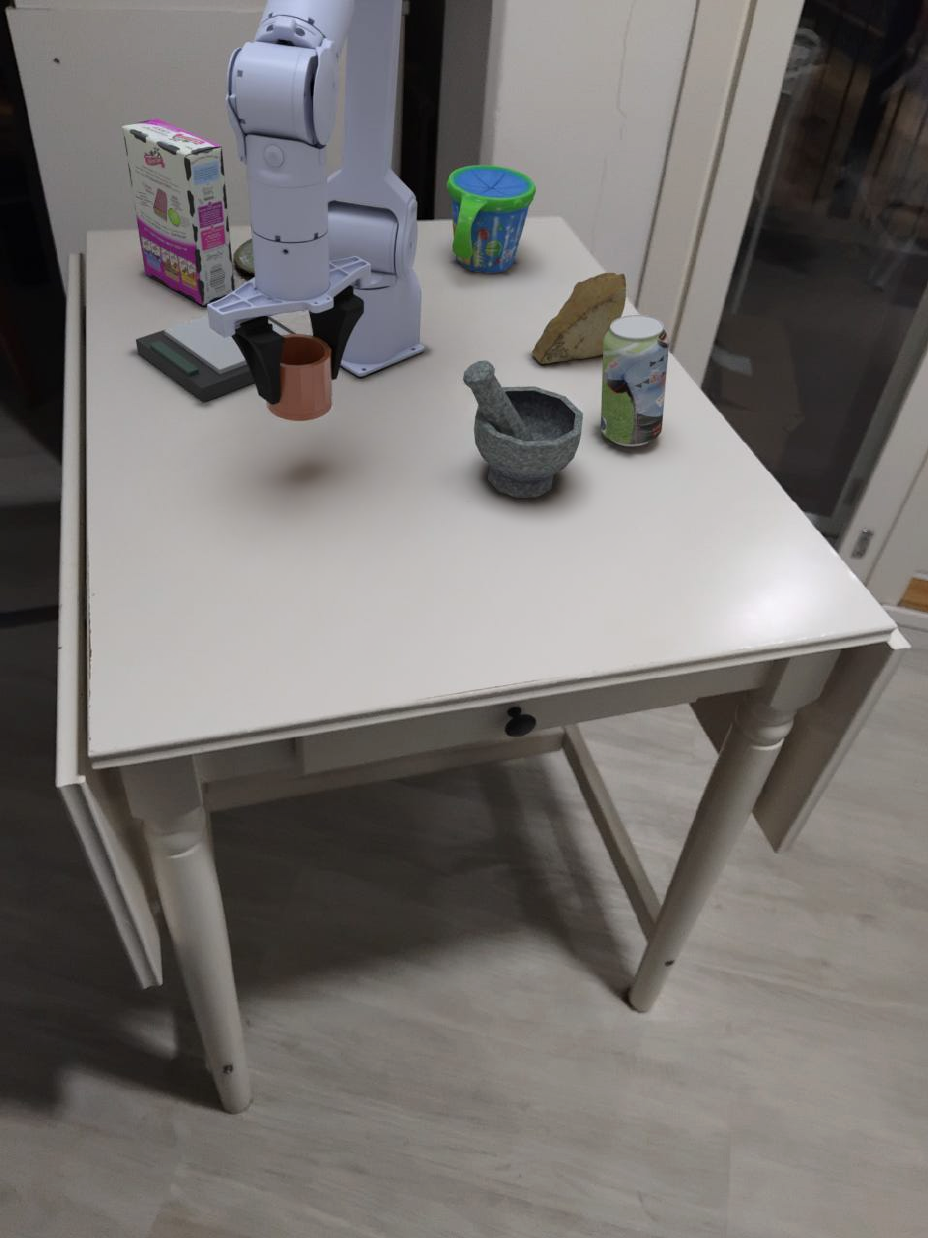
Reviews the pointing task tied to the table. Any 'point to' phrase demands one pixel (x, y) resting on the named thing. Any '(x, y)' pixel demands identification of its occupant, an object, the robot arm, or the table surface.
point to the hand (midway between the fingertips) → (298, 386)
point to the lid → (245, 257)
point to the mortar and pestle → (522, 432)
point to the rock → (583, 320)
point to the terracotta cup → (304, 379)
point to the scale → (200, 357)
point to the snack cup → (488, 215)
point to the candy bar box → (181, 209)
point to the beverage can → (634, 380)
